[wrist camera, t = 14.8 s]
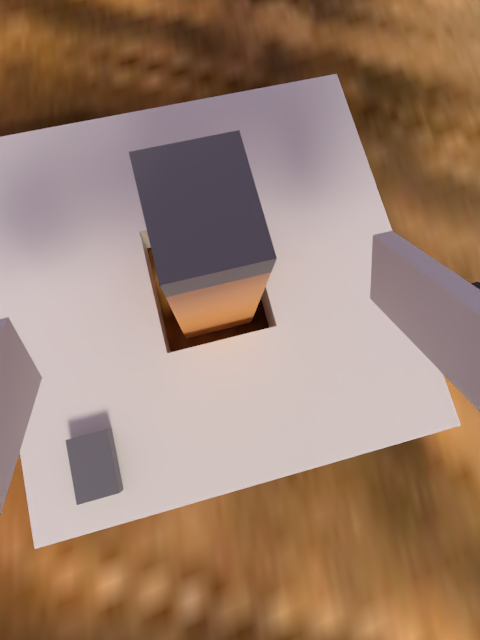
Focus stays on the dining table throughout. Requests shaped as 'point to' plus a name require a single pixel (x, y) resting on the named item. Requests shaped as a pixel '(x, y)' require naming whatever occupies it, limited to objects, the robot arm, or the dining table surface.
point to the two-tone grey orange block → (205, 230)
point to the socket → (211, 358)
